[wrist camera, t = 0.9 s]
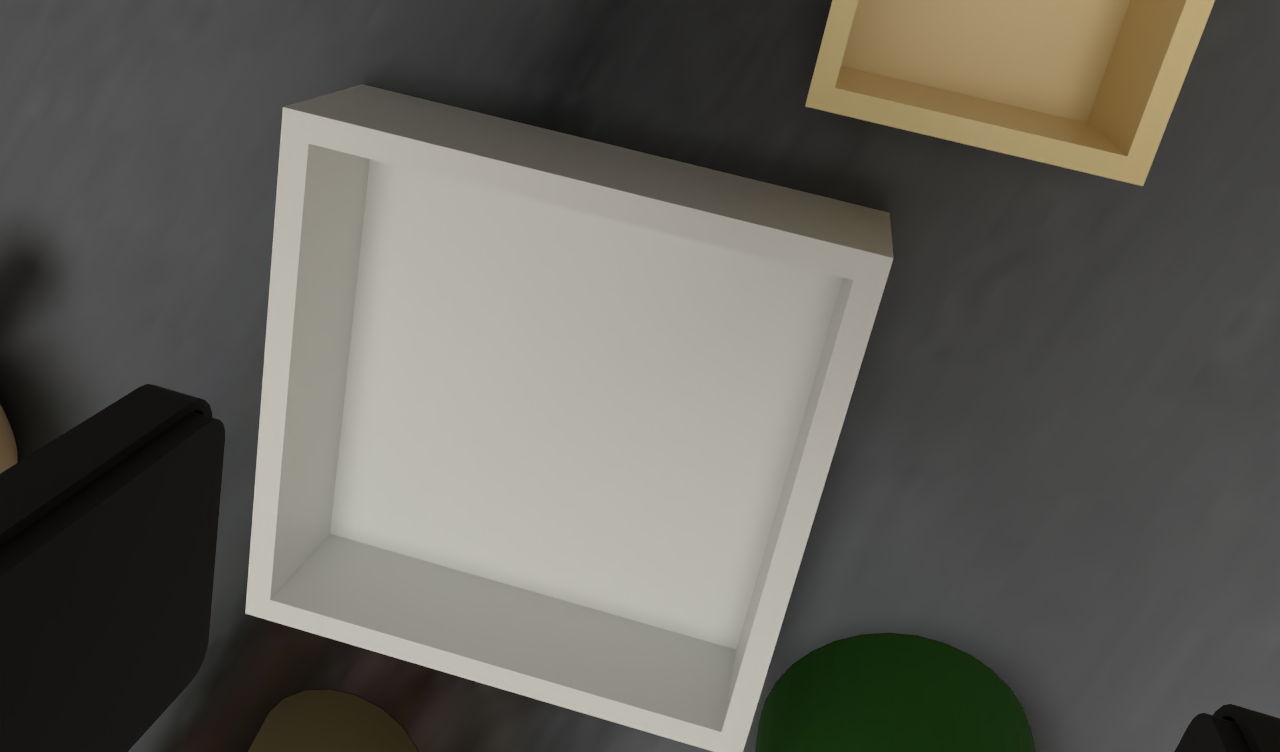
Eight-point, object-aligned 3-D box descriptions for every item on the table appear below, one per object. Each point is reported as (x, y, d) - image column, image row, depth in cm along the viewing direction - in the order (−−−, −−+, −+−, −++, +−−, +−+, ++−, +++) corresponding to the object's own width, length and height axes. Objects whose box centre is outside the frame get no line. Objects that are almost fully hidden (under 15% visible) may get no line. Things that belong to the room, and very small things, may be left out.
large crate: (362, 84, 30) (283, 106, 26) (889, 212, 29) (893, 258, 25) (316, 535, 36) (245, 613, 32) (755, 661, 34) (740, 759, 30)
